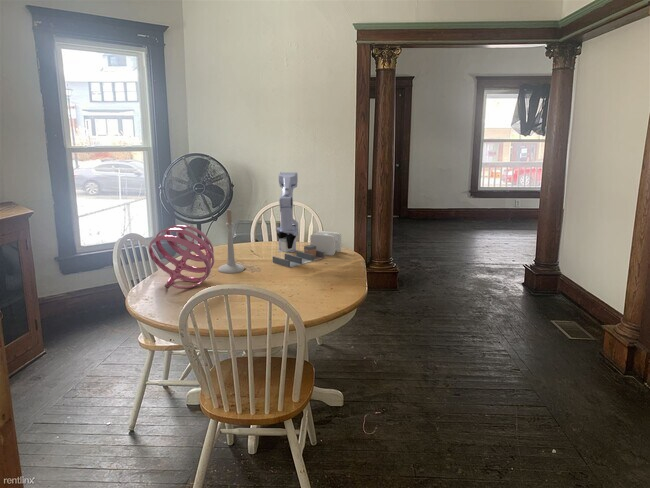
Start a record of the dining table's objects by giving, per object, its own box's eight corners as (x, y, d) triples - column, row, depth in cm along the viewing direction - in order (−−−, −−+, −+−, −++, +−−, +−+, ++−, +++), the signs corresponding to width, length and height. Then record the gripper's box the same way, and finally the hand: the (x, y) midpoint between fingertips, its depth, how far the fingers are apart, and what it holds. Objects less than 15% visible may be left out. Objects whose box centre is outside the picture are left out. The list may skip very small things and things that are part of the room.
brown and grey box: (304, 257, 262) (304, 246, 261) (310, 255, 266) (310, 244, 265) (309, 258, 260) (309, 247, 258) (316, 256, 263) (316, 245, 262)
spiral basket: (168, 255, 193) (199, 207, 210) (121, 263, 207) (153, 217, 224) (210, 300, 209) (236, 252, 226) (164, 304, 223) (191, 258, 241)
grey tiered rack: (271, 263, 254) (271, 256, 253) (307, 255, 271) (307, 247, 270) (289, 269, 244) (289, 261, 243) (325, 259, 261) (325, 252, 261)
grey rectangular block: (280, 250, 250) (280, 238, 248) (288, 248, 253) (287, 236, 252) (285, 251, 247) (285, 239, 246) (293, 249, 251) (293, 238, 249)
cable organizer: (308, 254, 273) (308, 233, 270) (317, 250, 282) (317, 229, 279) (333, 257, 266) (333, 236, 263) (342, 253, 275) (342, 232, 272)
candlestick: (239, 274, 236) (236, 211, 229) (213, 272, 239) (210, 210, 232) (248, 266, 249) (246, 206, 242) (224, 265, 251) (221, 205, 244)
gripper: (270, 219, 249) (271, 246, 252) (290, 223, 239) (290, 251, 242) (281, 218, 254) (282, 244, 257) (301, 221, 244) (301, 248, 247)
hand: (286, 247), depth 250 cm, fingers closed on grey rectangular block, 4 cm apart
